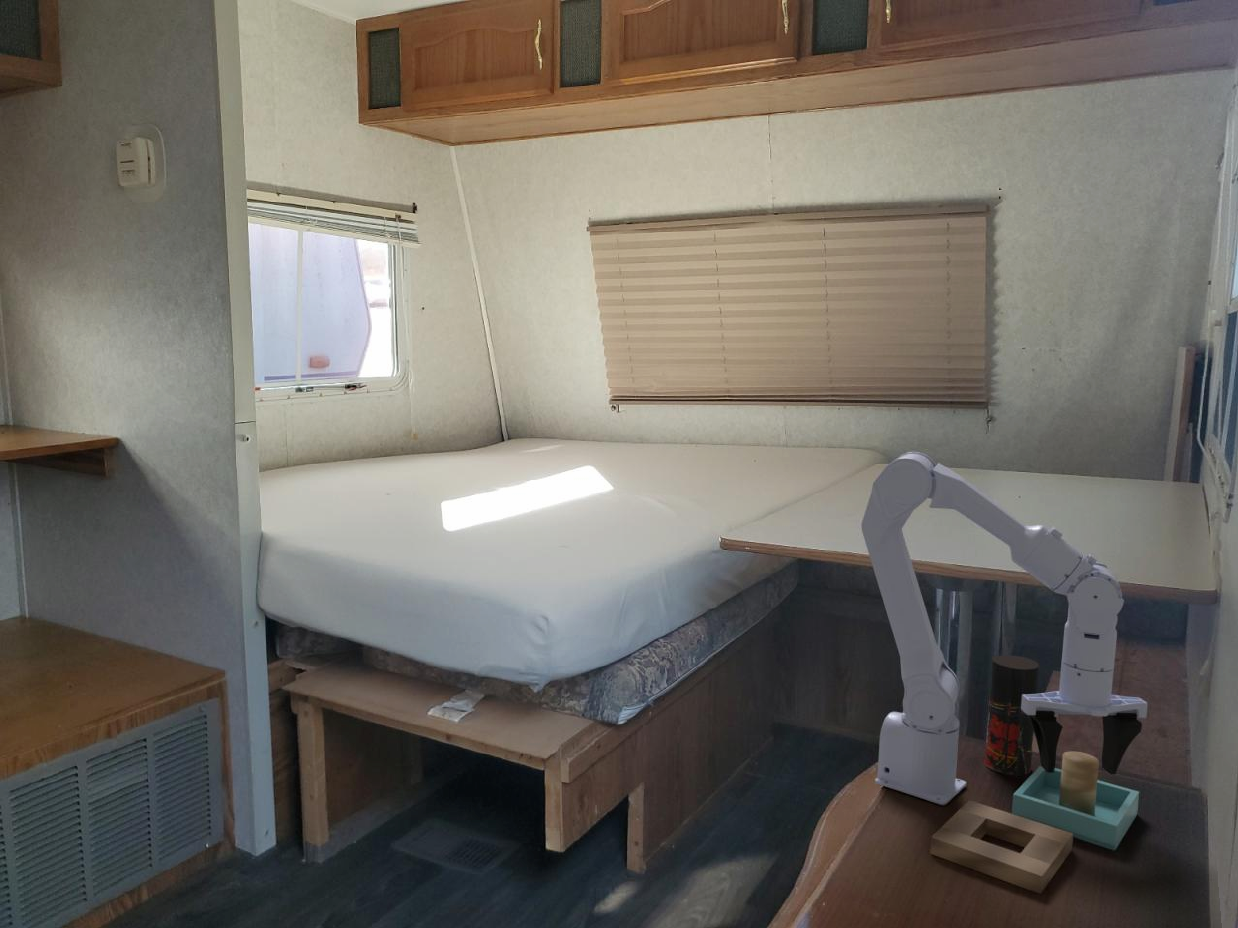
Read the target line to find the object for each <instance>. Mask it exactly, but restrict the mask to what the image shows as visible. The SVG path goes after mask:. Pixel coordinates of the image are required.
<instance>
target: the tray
mask: <svg viewBox="0 0 1238 928" xmlns="http://www.w3.org/2000/svg"><path fill="white" fill-rule="evenodd" d="M1061 772H1062V768H1061V769H1060V768H1056V767H1055V769H1054V773H1048V772H1046V771H1045V770H1044V769H1043V768H1042V767H1041V764H1040V765H1039V766H1038V767H1037V769H1035V771H1034V772H1032V774H1031V775H1030V776H1029V777H1028V778H1026V780H1025V781H1024V782H1023V783H1022V785H1021V786H1020V787H1019V788H1018V789H1017V790H1016V791H1015V792H1014V793H1013V795H1012V805H1011V807H1012V808H1011V814H1014V815H1017V816H1020V817H1023V818H1026V819H1029V820H1033V821H1036V822H1039V823H1042V824H1045V825H1048V826H1051V827H1054V828H1057V829H1061V830H1064V831H1067V832H1070V833H1073V839H1074V838H1075V839H1077V840H1081V841H1084V842H1087V843H1090V844H1093V845H1096V846H1099V847H1103V848H1106V849H1109V850H1111V851H1114V852H1115V851H1116V850H1117V848H1118V847H1119V845H1120V844H1121V841H1122V840H1123V838H1124V837H1125V835H1126V833H1127V832H1128V830H1129V829H1130V827H1131V825H1132V824H1133V822H1134V820H1135V819H1136V817H1137V815H1138V812H1139V811H1138V809H1139V798H1140V797H1139V796H1140V791H1139V790H1135V789H1130V788H1127V787H1124V786H1120V785H1116V784H1113V783H1111V782H1106V781H1102V780H1099V779H1097V790H1096V802H1095V814H1094V816H1092V815H1089V814H1085V813H1082V812H1079V811H1075V810H1072V809H1069V808H1066V807H1062V806H1059V797H1060V784H1061Z"/></svg>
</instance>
